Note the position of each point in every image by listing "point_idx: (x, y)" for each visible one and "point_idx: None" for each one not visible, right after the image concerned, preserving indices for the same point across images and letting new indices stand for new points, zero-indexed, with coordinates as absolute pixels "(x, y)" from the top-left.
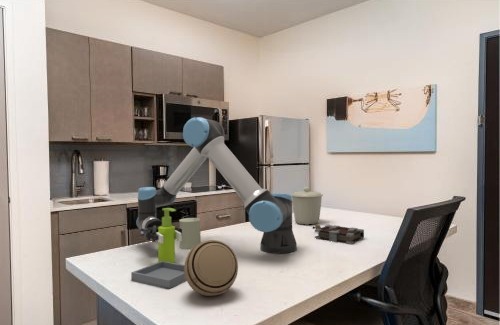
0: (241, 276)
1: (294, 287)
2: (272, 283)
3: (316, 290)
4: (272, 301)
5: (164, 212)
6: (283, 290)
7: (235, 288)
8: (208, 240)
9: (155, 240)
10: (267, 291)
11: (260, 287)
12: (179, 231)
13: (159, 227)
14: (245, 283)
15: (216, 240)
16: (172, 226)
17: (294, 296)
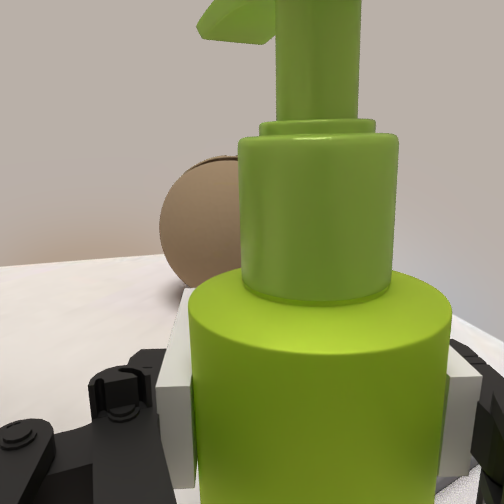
0: (78, 331)
1: (53, 276)
2: (65, 292)
3: (39, 265)
4: (148, 264)
5: (358, 41)
6: (86, 275)
7: (163, 298)
8: (234, 156)
9: (479, 493)
10: (117, 279)
11: (109, 289)
12: (74, 435)
13: (426, 285)
14: (117, 305)
15: (212, 158)
16: (237, 271)
17: (98, 264)
